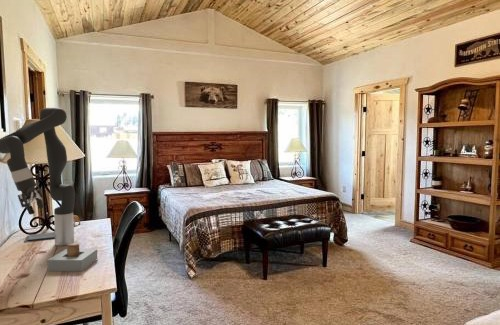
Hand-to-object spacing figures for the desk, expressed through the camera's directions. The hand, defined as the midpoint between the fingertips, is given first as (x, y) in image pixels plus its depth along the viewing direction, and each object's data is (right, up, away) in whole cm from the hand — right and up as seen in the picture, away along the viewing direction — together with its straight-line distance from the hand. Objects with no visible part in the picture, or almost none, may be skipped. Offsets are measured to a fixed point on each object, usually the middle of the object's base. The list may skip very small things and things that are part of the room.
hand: (37, 210), depth 154 cm
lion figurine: (-21, -21, +67) cm, 73 cm away
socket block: (+19, -25, -3) cm, 31 cm away
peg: (+19, -25, -3) cm, 31 cm away
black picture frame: (-21, -23, +40) cm, 51 cm away
